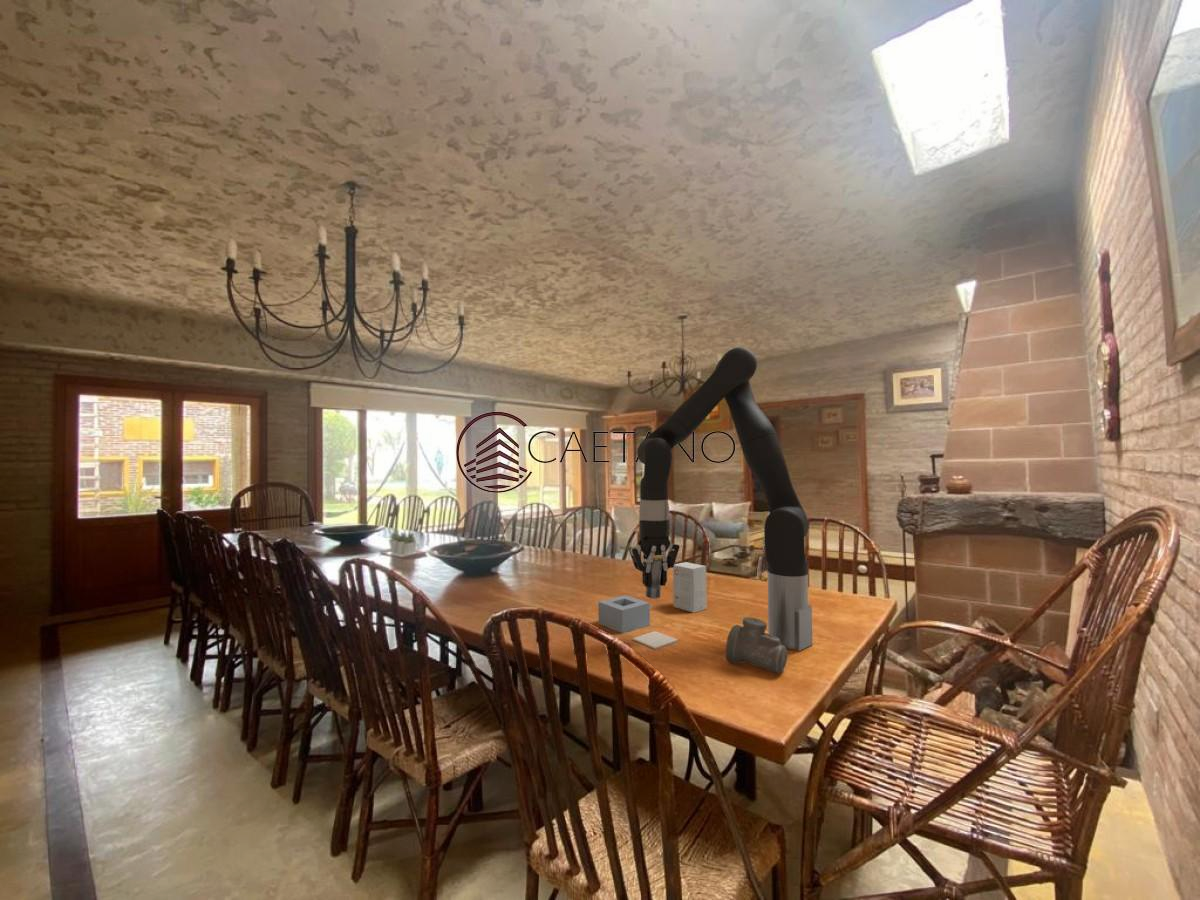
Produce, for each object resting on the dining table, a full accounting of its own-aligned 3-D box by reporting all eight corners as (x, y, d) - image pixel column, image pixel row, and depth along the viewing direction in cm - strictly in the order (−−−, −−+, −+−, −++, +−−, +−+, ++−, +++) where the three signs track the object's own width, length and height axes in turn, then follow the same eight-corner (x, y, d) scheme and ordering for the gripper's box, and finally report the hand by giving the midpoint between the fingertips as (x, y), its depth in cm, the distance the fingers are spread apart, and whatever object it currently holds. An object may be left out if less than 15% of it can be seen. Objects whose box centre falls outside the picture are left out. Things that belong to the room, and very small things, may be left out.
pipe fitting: (720, 664, 106) (726, 617, 106) (734, 655, 112) (740, 611, 113) (776, 685, 99) (782, 635, 99) (787, 674, 105) (793, 627, 105)
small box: (707, 609, 146) (706, 565, 147) (693, 613, 142) (692, 568, 143) (686, 603, 153) (686, 561, 153) (672, 607, 149) (672, 564, 149)
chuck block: (649, 625, 133) (649, 602, 133) (622, 633, 126) (622, 610, 127) (625, 616, 141) (625, 595, 141) (598, 623, 134) (598, 601, 134)
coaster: (678, 641, 121) (678, 639, 121) (655, 649, 116) (655, 647, 116) (655, 632, 127) (655, 631, 127) (632, 639, 122) (632, 638, 122)
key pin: (657, 592, 125) (659, 550, 124) (663, 598, 121) (666, 555, 120) (642, 593, 124) (645, 551, 123) (648, 599, 120) (650, 556, 119)
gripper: (670, 514, 128) (670, 579, 128) (622, 517, 123) (622, 585, 122) (686, 517, 121) (686, 586, 121) (636, 520, 116) (636, 593, 116)
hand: (654, 585), depth 122 cm, fingers closed on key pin, 3 cm apart
